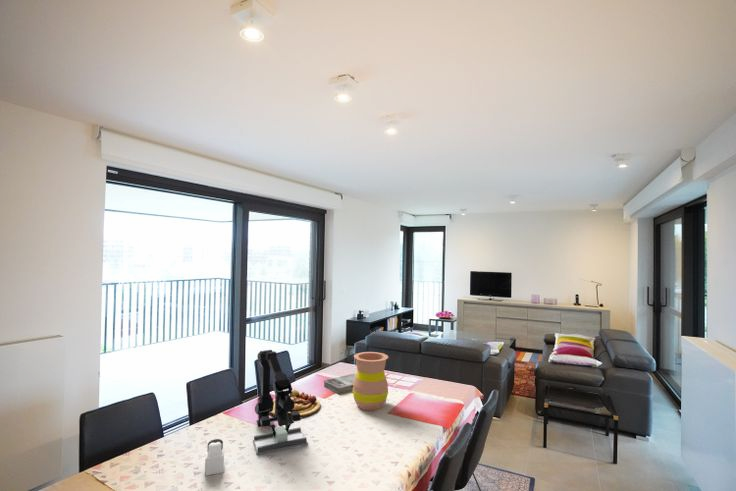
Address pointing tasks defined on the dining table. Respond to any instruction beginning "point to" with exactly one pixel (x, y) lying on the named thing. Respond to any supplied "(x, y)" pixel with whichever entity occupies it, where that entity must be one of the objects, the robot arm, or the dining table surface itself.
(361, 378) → the vase
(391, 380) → the dining table surface
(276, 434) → the block
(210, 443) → the white handled block
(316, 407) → the wooden plate with food
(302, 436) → the rail board
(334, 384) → the hard drive
